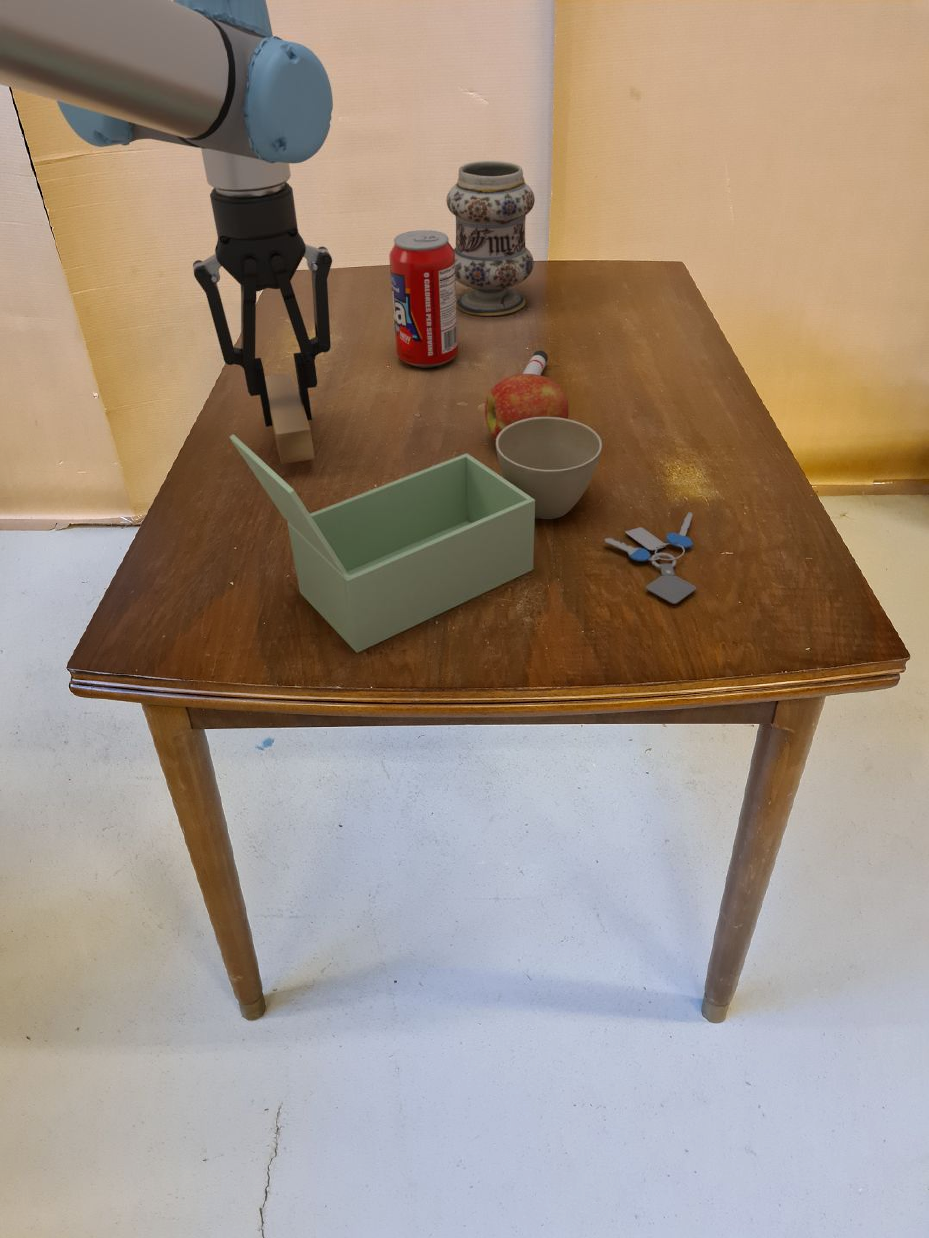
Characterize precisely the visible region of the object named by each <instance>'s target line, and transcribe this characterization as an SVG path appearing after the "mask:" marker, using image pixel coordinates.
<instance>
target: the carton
mask: <svg viewBox="0 0 929 1238" xmlns="http://www.w3.org/2000/svg"><path fill="white" fill-rule="evenodd" d="M309 514H310V515H311V517H312V518H313V520H314V522H315V523H316V525H317V526H318V528H319V529H320V531H321V532H322V534H323V536H324V537H325V539H326V540H327V542H328V543H329V545H330V546H331V548H332V550H333V551H334V553H335V554H336V556H337V557H338V559H339V560H340V562H341V563H342V565H343V567H344V568H345V570H346V571H347V573H345V574H344V575H342V574H341V573H340V572H339V571H338V570H337V569H336V568H335V567H334V566H333V565H332V564H331V563H330V562H329V561H328V560H327V559H326V558H325V557H324V556H323V555H322V554H321V553H320V552H319V551H318V550H317V549H316V548H315V547H314V546H313V545H311V544H310V543H309V542H308V541H307V540H306V539H305V538H304V537H303V536H302V535H301V534H300V533H299V532H298V531H297V530H296V529H295V528H294V527H293V526H292V525H291V524H290V523H289V522H288V521H287V523H286V525H287V530H288V536H289V540H290V541H289V542H290V546H291V551H292V557H293V563H294V568H295V575H296V579H297V585H298V590H299V594H301V595H302V597H304V599H305V600H306V601H307V602H308V603H309V604H310V605H311V606H312V607H313V608H314V609H315V611H317V612H318V614H319V615H320V616H321V617H322V618H323V619H324V620H325V621H326V623H328V624H329V625H330V626H331V627H332V629H334V631H336V633H337V634H338V635H339V636H340V637H341V638H342V639H343V640H344V641H345V642H346V643H347V644H348V645H349V647H350V648H352V650H353V651H354V652H355V653H356V654H358V653H361V652H363V651H364V650H367V649H368V648H370V647H373V646H375V645H377V644H379V643H381V642H384V641H385V640H388V639H390V638H392V637H394V636H396V635H398V634H400V633H403V632H404V631H407V630H408V629H411V628H413V627H415V626H417V625H419V624H422V623H424V622H426V621H428V620H430V619H432V618H435V617H436V616H439V615H441V614H442V613H445V612H447V611H449V610H451V609H453V608H455V607H457V606H460V605H462V604H464V603H466V602H468V601H470V600H472V599H475V598H476V597H479V596H481V595H483V594H486V593H487V592H489V591H491V590H493V589H496V588H498V587H500V586H502V585H503V584H506V583H508V582H511V581H512V580H515V579H517V578H519V577H521V576H523V575H526V574H527V573H529V572H531V571H533V570H534V555H535V553H534V551H535V525H536V524H535V523H536V522H535V519H536V518H535V499H533V498H531V497H530V496H529V495H527V494H526V493H524V492H523V491H521V490H520V489H519V488H517V487H516V486H514V485H513V484H511V483H510V482H508V481H507V480H505V479H504V478H503V476H502V475H500V474H498V473H497V472H496V471H494V470H493V469H491V468H489V467H488V466H486V465H485V464H483V463H482V462H481V461H479V460H478V459H476V458H475V457H473V456H472V455H471V454H469V453H464V454H461V455H459V456H456V457H453V458H450V459H447V460H445V461H442V462H440V463H438V464H435V465H433V466H430V467H427V468H425V469H422V470H420V471H417V472H414V473H411V474H409V475H407V476H403V477H401V478H399V479H396V480H393V481H390V482H388V483H386V484H383V485H381V486H378V487H376V488H373V489H371V490H367V491H365V492H362V493H360V494H358V495H355V496H352V497H350V498H347V499H344V500H342V501H339V502H337V503H335V504H332V505H329V506H325V507H324V508H321V509H319V510H316V511H314V512H311V513H309Z"/></svg>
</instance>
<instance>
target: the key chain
mask: <svg viewBox="0 0 929 1238" xmlns="http://www.w3.org/2000/svg"><path fill="white" fill-rule="evenodd" d="M693 514H694V513H693V512H690V511H689V512H687V515H686V517H684V520H683V523H682V525H681V527H680V531H679V533H677V532H669V533H667V534H666V536H665V540H666V541H667V543H665V542H663V541H662V540H660V539H659V538H658V537H657V536H655V535H654V534H652V533H651V532H649V531H648V530H646V529H645V528H644V527H643V526H640V527H636V528H633V529H629V530H625V531H624V533H625V534H626V535H627V536H628V537H631V538H632V539H633V540H634V541H636V542H637V543H639V544H640V545H641V546H643V547H644V548H643V547H634V546H632V545H627V544H626V543H625V542H624V541H623V542H621V541H620V540H615V539H614V538H613V537H607V538H604V543H606V544H607V545H611V546H612V547H615V548H617V549H620V550H622V551H624V552H626V553H627V555H628V558H630V559H631V560H633V561H636V562H646V561H649V562H651V564H652V565H653V566H654V567H655V568H657V569H659V571H660V576H658V577H657V578H655V579H654V580H653V581H651V582H650V583H648V584H647V585H645V589H646V591H648V592H651V593H653V594H654V595H656V596H657V597H659V598H661V599H663V600H664V601H666V602H668V603H670V604H673V605H676V604H678V603H680V602H681V601H682V600H683V599H685V598H686V597H688V596H689V595H690V594H692V593H693V592H694V591H696V590H697V586H696V585H695V584H692V583H690V582H689V581H687V580H685V579H683V578H681V577H679V576H678V575H676V574H675V570H674V567H675V566H676V565H677V559H679V558H681V557H682V556H684V553H685V552H686V549H689V548H691V547H692V546H693V541H692V539H691V538H690V537H688V536H686V535H687V533H688V529H690V525H691V522H692V517H693ZM667 545H671V546H674V547H676V548H680V549H681V550H682V553H681V554H680V555H678V556H677V557H675V556H674V555H672V554H670V553H667V552H658V550H661V549H663V548H665V547H666V546H667ZM650 551H654V554H653V555H652V554H651V553H650ZM651 555H652V556H651ZM663 557H665V558H663ZM658 560H661V561H671V562H672V563H658V562H656V561H658Z"/></svg>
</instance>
